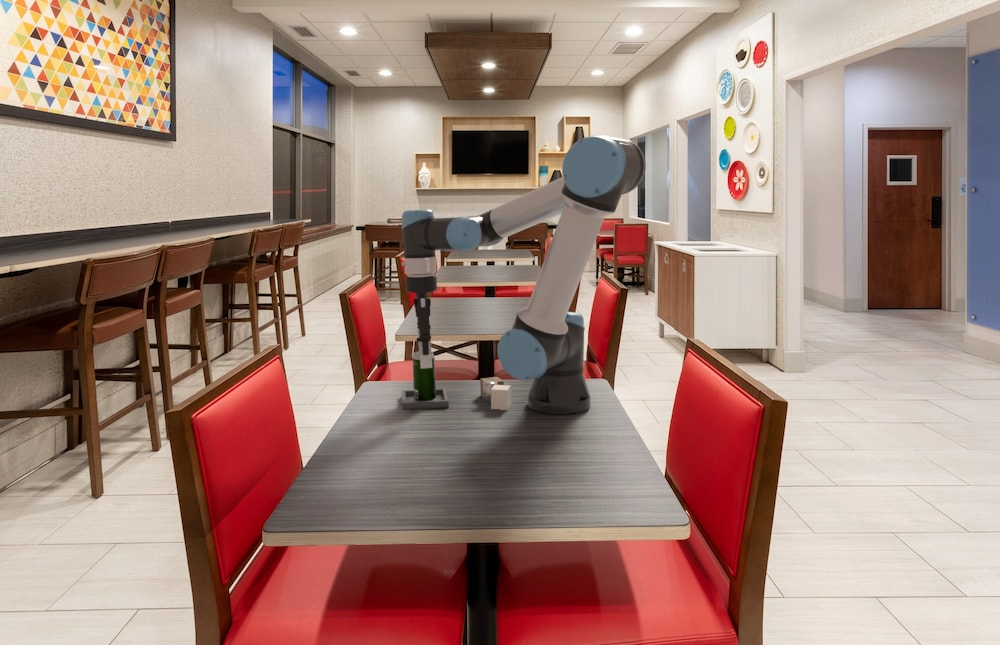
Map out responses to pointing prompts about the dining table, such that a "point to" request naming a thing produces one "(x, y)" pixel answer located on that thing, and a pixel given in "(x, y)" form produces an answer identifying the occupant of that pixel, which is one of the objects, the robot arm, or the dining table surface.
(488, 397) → the grey metal cylinder
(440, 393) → the tray
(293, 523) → the dining table surface
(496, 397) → the cream block
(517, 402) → the dining table surface
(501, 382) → the walnut block
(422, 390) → the green soda can
